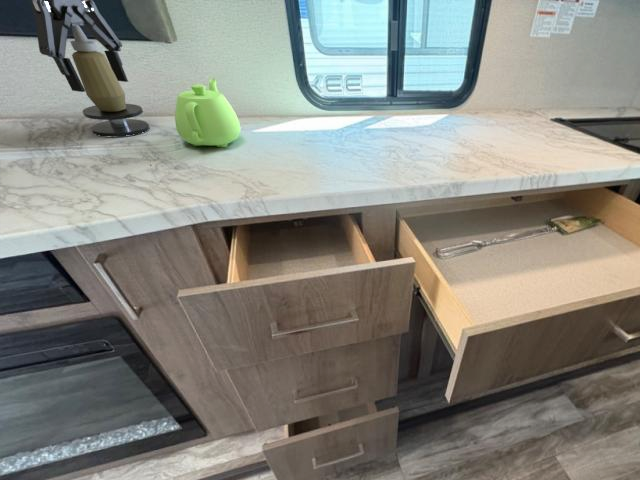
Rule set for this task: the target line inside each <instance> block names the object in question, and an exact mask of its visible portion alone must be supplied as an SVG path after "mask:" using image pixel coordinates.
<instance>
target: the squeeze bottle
mask: <svg viewBox="0 0 640 480" xmlns="http://www.w3.org/2000/svg"><path fill="white" fill-rule="evenodd" d="M70 28H71V30H72V35H73V37H74V38H73V39H74V40H70V41H69V43H70V45H71V47H72V49H73V51H74V52H72V54H71V58H72V60H73V62H74V65H75V66H76V70H77V74H78V77H79V79H80V81H81V83H82V85H83V87H84V89H85V94H86V96H87V97H88V98H89V100H90V101H91V102H92V103H93V105H94V106H95V105H96V106H97V108H98V109H99V110H101V111H106V112H116V111H121V110H124V109H126V104H127V103H126V93H125V92H124V91H125V90H124V89H123V87H122V85H121V83H120V81H118V80H117V78H116V76H115V74H114V72H113V70H112V68H111V66H110V64H109V61H108V59H107V56H106V54H105V53H102V52H100V51H98V50H99V49H98V47H97V45H96V44H97V43H95V41H92V40H89V38H88V37H87V36H86V34H85V33H84V31H83V30H82V28H81V26H80V25H76V26H70Z"/></svg>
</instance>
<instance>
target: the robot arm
mask: <svg viewBox="0 0 640 480" xmlns="http://www.w3.org/2000/svg"><path fill="white" fill-rule="evenodd" d="M28 2H29V4H30V6H31V9H32V12H33V14H34V21H35V28H36V29H35V30H36V35H37V43H38V49H39V53H40V54H41V55H43V56H47V57H48V58H52V59H53V61H54V63H55V64H56V67H57V68H58V70H59V72H60V74H61V75H62V76H64V77H65V79H66V81H67V83H68V85H69V87H70V89H71V91H72V92H73V91H74V92H79V93H86V91H85V89H84V86H83V83H82V81H81V78H80V76H79V74H78V72H77V71H76V69H75V67H74V65H73V63H72V61H71V58H69V57H66V49H67V40H68V33H69V32H68V31H69V29H70V28H71V26H76V25H79V26H80V27H82V28H84V29H85V30H86V31H87V32H88V33H89V34H90V35H91V36H92V37H93V38H94V39H95V40H96V41H98V43H100V44H101V45H102V46H103V47H104V48H105V49H106V50H104V51H103V52H104V55H105V57H106V59H107V61H108V63H109V64H110V66H111V68H112V70H113V72H114V74H115V76H116V78H117V80H118V82H124V83H127V82H129V79H128V77H127V75H126V73H125V70H124V68H123V67H124V66H123V62H122V61H123V60H122V59H121V57H120V54H119V52H121V50H122V47H123V43H122V42H121V41H120V39H119V37H118V36H117V35H116V34H115V32H114V31H113V29H112V28H111V27H110V26H109V24H108V22H107V21H106V20H105V18H104V17H103V16H102V14H101V13H100V11H99V8H97V5H96V3H95V1H94V0H29V1H28Z"/></svg>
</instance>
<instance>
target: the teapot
mask: <svg viewBox="0 0 640 480" xmlns="http://www.w3.org/2000/svg"><path fill="white" fill-rule="evenodd" d="M208 86H209V87H208V88H209V89H206V85H204V84H201V83H196V84H191V85H190V87H191V89H190V90H185V91H182V92H180V93H179V94H178V95H177V98H176V103H175V109H174V110H175V111H174V123H175V128H176V131H177V134H178V136H180V137H181V138H182V139H183V140H184V141H185V142H187V143H188V144H191V145H192V147H193V146H194V147H201V146H216V147H217V148H226V147H228V144H230V143H232V142H234V141H236V140H237V139H238V137H239V135H240V134H241V130H242V129H241V122H240V120H239V118H238V115H237V113H236V111H235V110H234V108H233V107H232V105H231V104H230V102H229V101H228V99H227V98H226V97H225V96H224V94H223V93H222V92H221V91H219V90H218V87H217V80H216V78H215V77H211V78H210V79H209V82H208Z"/></svg>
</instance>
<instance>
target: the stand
mask: <svg viewBox="0 0 640 480" xmlns="http://www.w3.org/2000/svg"><path fill="white" fill-rule="evenodd" d="M143 113H144V110H143V108H142V106H140V105H138V104H133V103H126V109H124V110H121V111H116V112H106V111H101V110H99V109H98V108H97V106H96V105H95V104H94V105H91V106H88V107H85V108H83V110H82V114H83V117H86V118H88V119H92V120H98V121H99V120H101V121H100V122H97V123H95V124H92V126H91V127H90V130H91V131H92V134H93V135H95V134H96V136H98V135H100V136H99V137H102V136H126V135H133V134H138V133H142V132H144V133H146V132H148V131H149V130H150V128H149V127H150V125H149V123H148V122H147V121H145V120H141V119H134V118H135V117H137V116H141V115H142V114H143ZM148 129H149V130H148ZM147 130H148V131H147ZM145 131H146V132H145ZM142 134H143V133H142ZM138 135H139V134H138Z"/></svg>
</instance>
